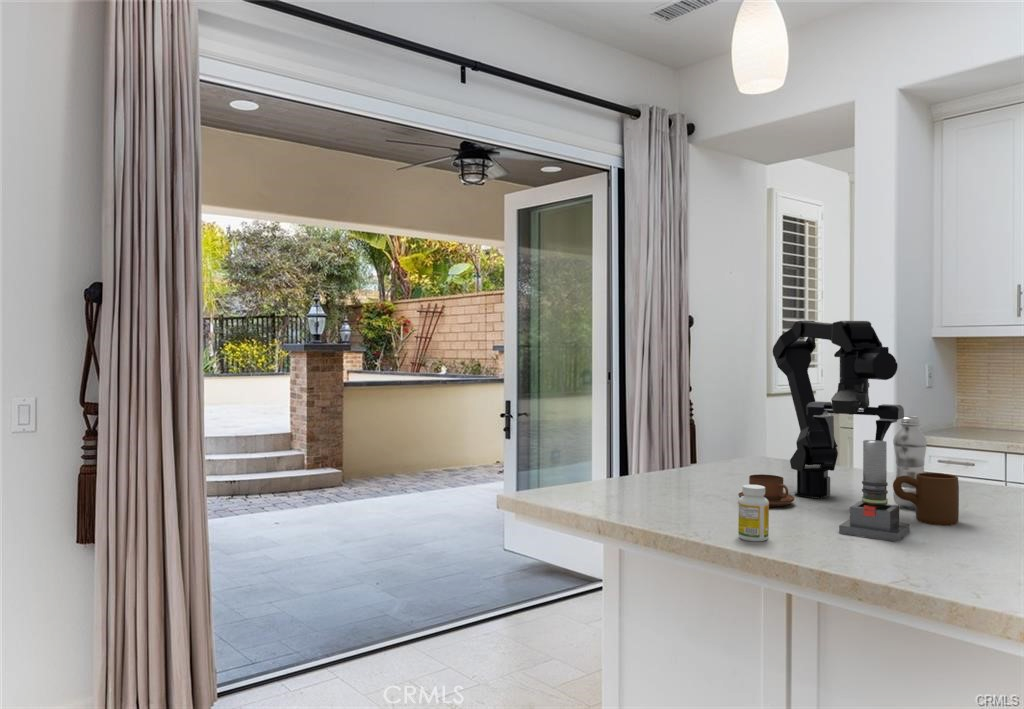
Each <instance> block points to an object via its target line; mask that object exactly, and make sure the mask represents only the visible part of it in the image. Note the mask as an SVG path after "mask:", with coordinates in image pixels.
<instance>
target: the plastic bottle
mask: <svg viewBox="0 0 1024 709" xmlns="http://www.w3.org/2000/svg"><path fill="white" fill-rule="evenodd" d="M920 421H921V419H920V417H919V416H905V415H904V418H902V419H900V423H899V425H900V426H901V427H900V428H899V430H898V431H897V432H896V433H895V435H894V437H893V440H892V443H893V449H894V456H895V464H896V466H895V470H896V471H895V472H896V474H895V479H896V478H897V477H900V476H905V475H906V476H910V477H912V478H915V479H916V475H917V474H918V473H925V467H924V466H925V459H926V458H925V457H926V452H927V451H926V450H927V444H928V441H927V438H926V436H925V435H924V433H923V431H921V429H920V426H921V422H920ZM901 487H902V490H903V491H905V492H910V493H913V494H915V495H916V487H914V486H912V485H909V484H907V483H902V484H901ZM892 496H893V501H894V502H895V505H897V506H899V507H903V508H906V509H916V505H915V504H914V503H912V502H911V501H907V500H903V499H901V498H899V497H898V496H897V495H896V494H895V492H894V491H893V495H892Z"/></svg>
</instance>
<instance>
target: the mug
mask: <svg viewBox="0 0 1024 709" xmlns="http://www.w3.org/2000/svg"><path fill="white" fill-rule="evenodd" d="M902 483H907V484H909V485H912V486H914V487H916V495H915V494H913V493H910V492H905V491H903V490H902V487H901V484H902ZM892 489H893V493H894V492H895V494H896V495H897V496H898V497H899V498H901V499H903V500H907V501H911V502H912V503H914V504H915V505H916V508H915V518H916V520H917V521H918V522H920V523H924V524H927V525H928V524H929V525H934V526H954V525H957V524H958V522H959V516H960V515H959V510H960V509H959V508H960V504H959V503H960V499H959V498H960V484H959V477H958V476H957V475H955V474H954V475H953V474H949V473H942V472H939V473H938V472H924V473H918V474H917V475H916V479H915V478H912V477H910V476H906V475H905V476H900V477H897V478H896V477H895V479H894V480H893V483H892Z"/></svg>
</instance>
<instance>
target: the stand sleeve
mask: <svg viewBox="0 0 1024 709" xmlns="http://www.w3.org/2000/svg"><path fill="white" fill-rule="evenodd" d="M910 531H911V523H906V522H900V506H899V505H897V504H889V503H888V504H886V505H869V504H865V503H863V502H862V500H859V501H857V502H856V503H854V504H852V505H850V506H849V519H848V520H846V521H844V522H843V523H840V524H839V525H838V534H843V535H848V536H856V537H862V538H869V539H875V540H881V541H889V542H894V543H898V542H899V541H900V540H902V539H903V538H904V537H905V536H906V535H907V533H908V534H909V533H910Z"/></svg>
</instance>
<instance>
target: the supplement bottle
mask: <svg viewBox="0 0 1024 709" xmlns="http://www.w3.org/2000/svg"><path fill="white" fill-rule="evenodd" d="M741 492H743V494H744V496H742V497H741V498H740V497H739V499H738V521H737V522H738V531H737V532H738V533H737V535H738V537H739V539H742V540H744V541H748V542H766V541H767V540H768V539H769V529H770V527H769V525H770V524H769V522H770V520H769V519H770V518H769V516H770V506H769V501H768V500H767V499H766V498H765V497H764V495H765V487H764V486H760V485H749V484H744V485H742V491H741Z"/></svg>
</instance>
